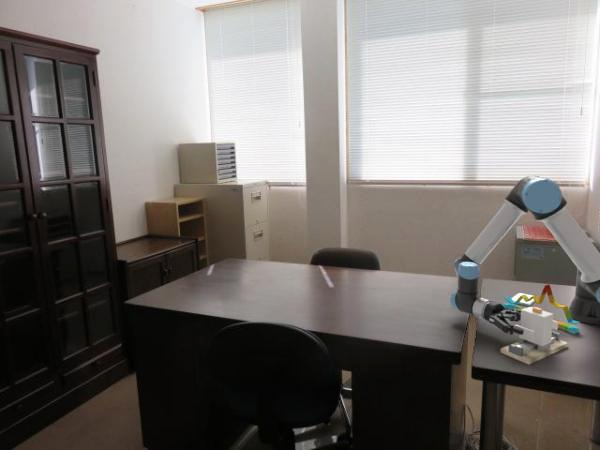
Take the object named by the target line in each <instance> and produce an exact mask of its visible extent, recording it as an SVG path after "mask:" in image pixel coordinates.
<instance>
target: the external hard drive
mask: <svg viewBox="0 0 600 450" xmlns="http://www.w3.org/2000/svg"><path fill="white" fill-rule="evenodd" d="M522 295H526V296H527V297H528V298H530V297H532V296H534V295H532V294H526V293H522V292H518V293H516V294H515V295H514V296H513V297H510V298H511V299H512V300H513V301H517V300H518V298H519V297H520V296H522ZM534 303H536V302H535V300H534V299H532V300H531V301H528V302H525V301H524V299H523V298H522V300H521V301H520V302H519V303H516V304H515V305H518V306H519V305H520V306H526V307H531V305H533V304H534Z"/></svg>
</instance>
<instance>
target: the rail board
mask: <svg viewBox="0 0 600 450" xmlns="http://www.w3.org/2000/svg"><path fill="white" fill-rule="evenodd" d="M512 344H513V345H515V346H518V345H520V343H519V340H518V341H516V342H513V343H512ZM568 345H569V342H567V341H564V340H561V339H560V340H558V341H557V340H556V341H554V342H551V348H550V349H547V350H545V351H543V352H541V351H538V350H537V349H535V350H533V351H531V352H528V353H526V354H524V355H523V356H522V357H520V356H518V355H516V354H513V353H511V352H508V351H509V344H508V345H506V346H503V347H501V348H500V354H502V355H505V356H508V357H510V358H513V359H515V360H517V361H519V362H522V363H524V364H526V365H531V364H533V363H536V362H538V361H541V360H542V359H544V358H547V357H549V356H551V355H553V354H555V353H558V352H559V351H561V350H564V349H566V348H568V347H569V346H568Z"/></svg>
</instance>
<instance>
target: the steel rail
mask: <svg viewBox="0 0 600 450" xmlns="http://www.w3.org/2000/svg"><path fill="white" fill-rule="evenodd" d="M556 340H557V341H558V340H561V333H560V332H559V331H556V330H552V336H551V342H554V341H556ZM508 345H509V351H508V352H511V353H513V354H516V355H518V356H520V357H522V356H523V355H524V354H526V353H528V352H531V351H533V350H535V349H537V348H538V344H535V343H532V342H530V341H527V342H525V343H522V344H520V345H518V346H515V345H513V343H510V344H508Z"/></svg>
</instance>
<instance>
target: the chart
mask: <svg viewBox="0 0 600 450" xmlns="http://www.w3.org/2000/svg"><path fill="white" fill-rule="evenodd" d="M546 295H547V297H548V301H549V304H551V305H552V306H553V307H555V308H559V309H562V310H563V313H564V316H565V318H566V321H567V323H566V322H563V321H561V320H560V321H559V320H558V319H555V318H553V320H554V321H557V322H558V329H559V330H561V331H564V332H567V333H569V334H572V335H575V334H579V333H580V328H579V327H577V326H575V325H578V324H580V323H581V322H580V321H577V320H574V319H573V318H572V317H571V315H570V312H569V307H568V306H567V305H562V304H560V303H559V302H557V301H555V298H554V295H553V291H552V288H551V285H550V284H545V285H544V287H543V289H542V292H541V295H540V297H539V296H538V295H537V294H535V295H533V296H532V297H530V298H528V297H527V296H526V295H522V296H520V297H519V298H518V300H517V301H513V300H512V299H511V298H512V297H510V296H508V295H507V296H505V297H504V298H503V299H505V300H506V301H507V302H506V303H503V304H502V305H503V307H504V309H505V310H512V308H515V309H519V310H522V309H525V308H524V307H522V306H519V305H517V304H516V303H519V302H520V301H521V300H522V298H523V299H524V301H525V302H528V301H531V300H532V299H534V300H535V302H534V303H536V304H537V305H541V304H543V303H544V300H545V298H546Z"/></svg>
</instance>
